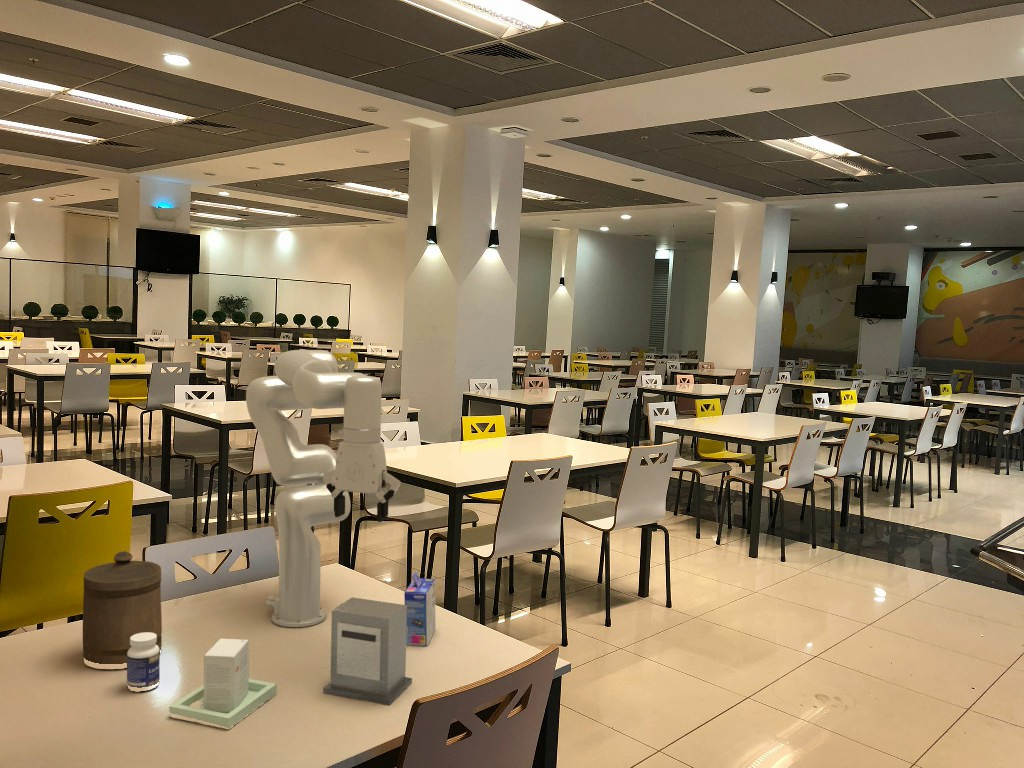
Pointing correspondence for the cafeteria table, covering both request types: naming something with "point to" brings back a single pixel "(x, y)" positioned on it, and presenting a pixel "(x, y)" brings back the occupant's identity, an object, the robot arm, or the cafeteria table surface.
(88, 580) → the wooden container
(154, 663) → the pill bottle
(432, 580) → the ink cartridge box
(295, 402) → the robot arm
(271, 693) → the tray
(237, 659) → the small box
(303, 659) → the cafeteria table surface
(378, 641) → the dispenser unit
